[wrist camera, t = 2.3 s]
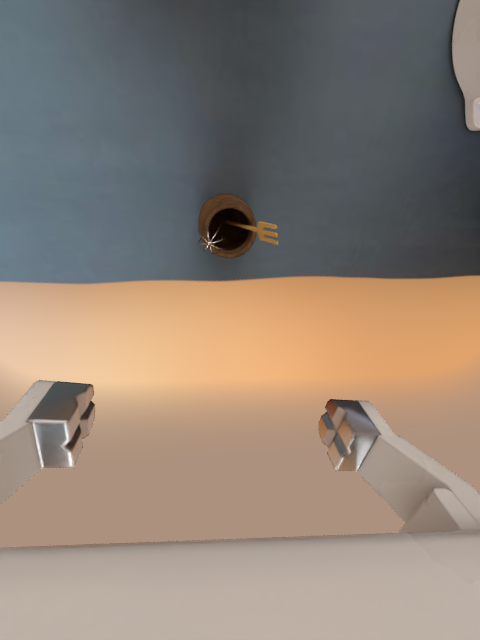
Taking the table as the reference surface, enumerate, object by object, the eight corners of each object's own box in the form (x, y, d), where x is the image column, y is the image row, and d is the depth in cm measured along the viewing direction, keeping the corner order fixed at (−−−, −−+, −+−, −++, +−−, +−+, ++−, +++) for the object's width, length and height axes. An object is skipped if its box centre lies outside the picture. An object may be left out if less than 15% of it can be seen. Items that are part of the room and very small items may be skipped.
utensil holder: (192, 199, 30) (189, 210, 20) (248, 188, 31) (274, 194, 20) (204, 251, 33) (206, 285, 23) (255, 241, 33) (281, 270, 23)
